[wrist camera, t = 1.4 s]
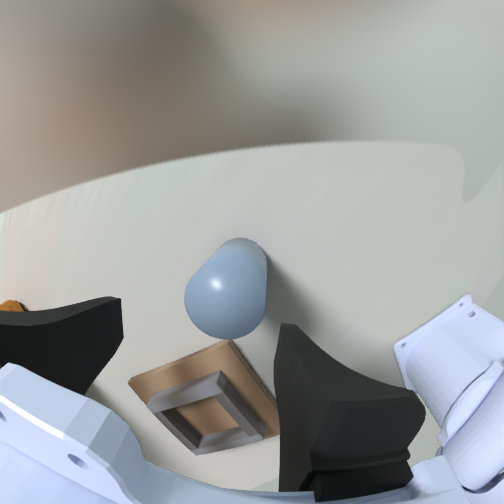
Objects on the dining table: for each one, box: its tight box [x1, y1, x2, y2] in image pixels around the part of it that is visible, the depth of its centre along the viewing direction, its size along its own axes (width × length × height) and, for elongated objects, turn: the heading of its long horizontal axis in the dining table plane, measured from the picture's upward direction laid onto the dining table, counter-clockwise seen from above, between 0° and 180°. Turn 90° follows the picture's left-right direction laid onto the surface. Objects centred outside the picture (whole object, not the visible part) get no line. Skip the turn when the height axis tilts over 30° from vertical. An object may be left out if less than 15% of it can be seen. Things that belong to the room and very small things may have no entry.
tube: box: [184, 238, 267, 339], centre depth 17 cm, size 4×4×8 cm
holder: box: [128, 339, 280, 455], centre depth 23 cm, size 12×12×3 cm
